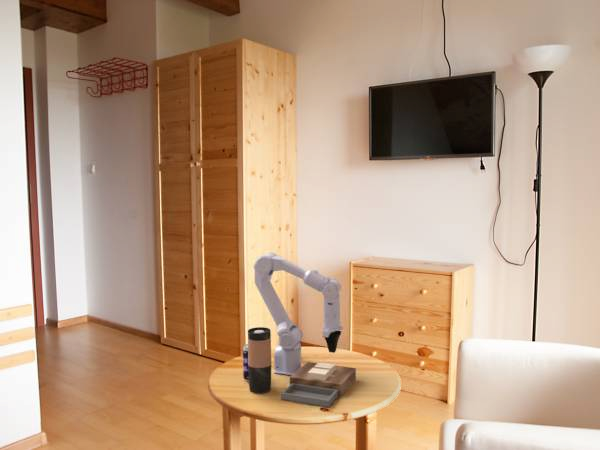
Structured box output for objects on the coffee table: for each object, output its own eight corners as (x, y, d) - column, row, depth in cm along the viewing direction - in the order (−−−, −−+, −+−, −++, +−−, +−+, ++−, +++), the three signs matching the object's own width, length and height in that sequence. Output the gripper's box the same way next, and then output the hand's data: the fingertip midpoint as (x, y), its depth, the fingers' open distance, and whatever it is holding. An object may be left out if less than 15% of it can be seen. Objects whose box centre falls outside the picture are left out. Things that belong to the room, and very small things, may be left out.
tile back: (314, 372, 174) (314, 366, 174) (319, 367, 178) (319, 362, 178) (331, 374, 171) (331, 368, 171) (335, 370, 176) (335, 364, 175)
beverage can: (243, 376, 181) (243, 343, 180) (259, 376, 182) (259, 342, 181) (243, 382, 176) (242, 348, 175) (259, 382, 176) (259, 347, 175)
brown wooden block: (289, 388, 170) (289, 377, 169) (307, 372, 184) (307, 361, 184) (341, 396, 163) (341, 384, 162) (355, 379, 177) (355, 368, 177)
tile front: (307, 378, 168) (307, 372, 168) (312, 373, 172) (312, 367, 172) (325, 380, 166) (325, 374, 166) (329, 375, 170) (329, 370, 170)
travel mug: (275, 386, 172) (274, 328, 170) (266, 395, 165) (265, 334, 163) (254, 383, 174) (253, 326, 173) (244, 392, 167) (243, 332, 166)
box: (280, 400, 161) (280, 393, 161) (292, 389, 169) (292, 383, 169) (328, 407, 155) (328, 400, 154) (338, 396, 163) (338, 389, 163)
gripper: (336, 320, 172) (336, 359, 173) (348, 310, 185) (349, 347, 186) (316, 318, 175) (317, 357, 176) (330, 308, 188) (330, 345, 189)
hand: (332, 351), depth 181 cm, fingers closed
